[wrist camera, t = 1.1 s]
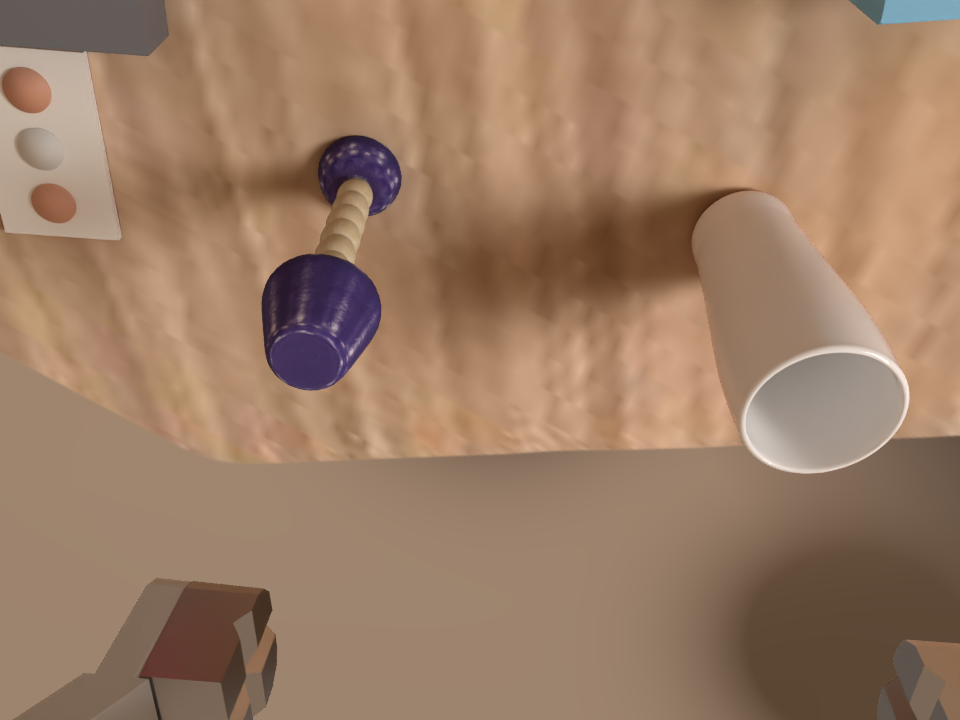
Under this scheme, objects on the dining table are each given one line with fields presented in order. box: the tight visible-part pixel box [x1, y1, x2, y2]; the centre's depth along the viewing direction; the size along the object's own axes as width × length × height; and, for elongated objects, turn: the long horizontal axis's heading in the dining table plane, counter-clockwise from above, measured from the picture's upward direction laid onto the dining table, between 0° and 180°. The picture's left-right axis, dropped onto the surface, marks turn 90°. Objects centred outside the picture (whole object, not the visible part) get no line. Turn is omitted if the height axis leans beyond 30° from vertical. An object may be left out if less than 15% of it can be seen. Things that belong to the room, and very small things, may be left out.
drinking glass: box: [692, 191, 909, 473], centre depth 41 cm, size 7×7×15 cm
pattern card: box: [0, 45, 122, 241], centre depth 44 cm, size 10×6×1 cm, turn 176°
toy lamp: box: [262, 136, 401, 390], centre depth 38 cm, size 5×5×17 cm
